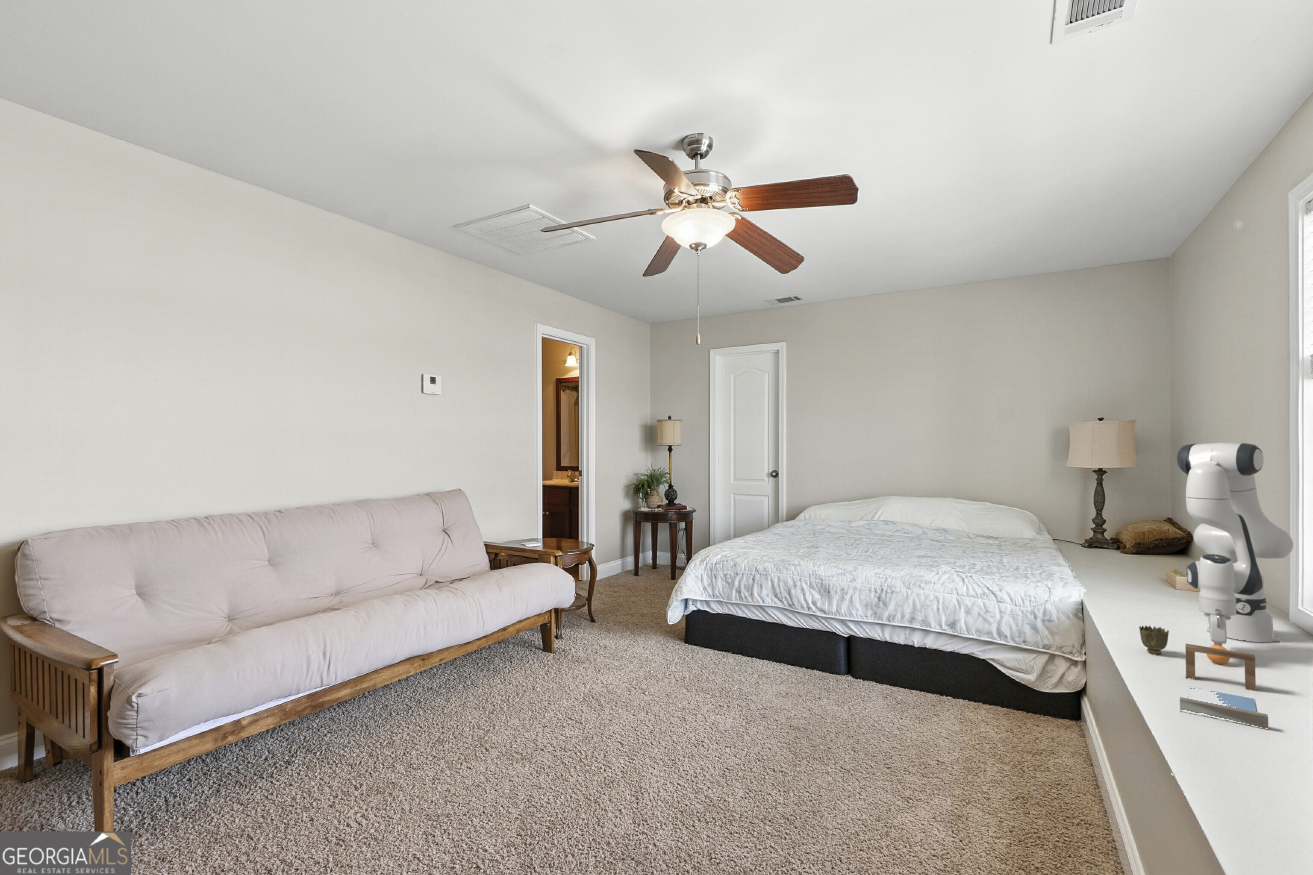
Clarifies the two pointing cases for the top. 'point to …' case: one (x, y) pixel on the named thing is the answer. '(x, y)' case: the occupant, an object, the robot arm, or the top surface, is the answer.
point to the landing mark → (1236, 701)
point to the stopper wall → (1225, 712)
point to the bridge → (1249, 658)
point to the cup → (1154, 639)
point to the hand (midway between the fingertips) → (1218, 650)
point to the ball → (1217, 658)
